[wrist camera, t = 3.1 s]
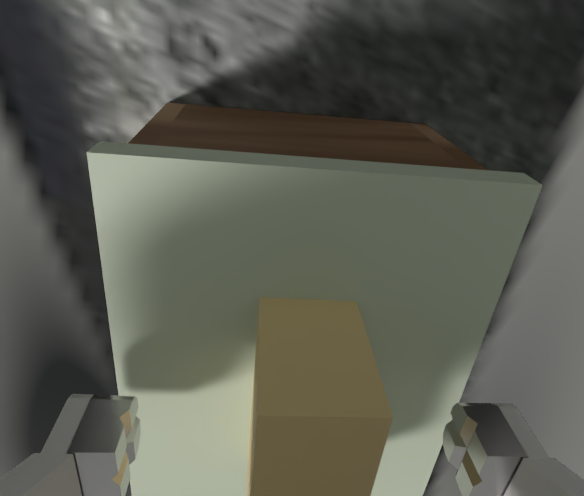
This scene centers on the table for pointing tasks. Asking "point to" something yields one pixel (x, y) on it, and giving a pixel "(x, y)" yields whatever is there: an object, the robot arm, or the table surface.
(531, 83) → the table surface
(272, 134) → the walnut box
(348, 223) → the lid
